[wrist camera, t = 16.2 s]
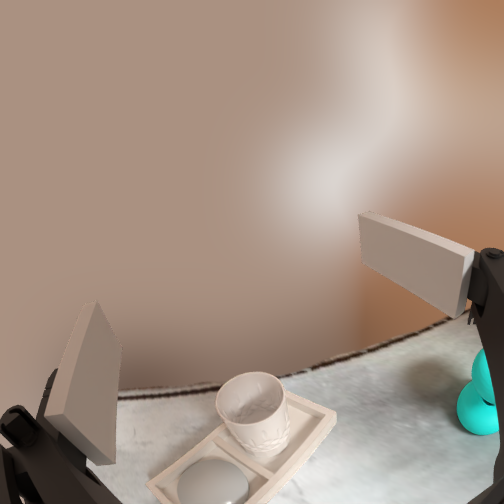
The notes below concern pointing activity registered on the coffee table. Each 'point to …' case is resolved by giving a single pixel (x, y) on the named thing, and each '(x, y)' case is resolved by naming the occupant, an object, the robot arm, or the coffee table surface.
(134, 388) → the coffee table surface
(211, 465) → the grey flat disc
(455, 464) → the coffee table surface
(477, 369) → the donuts
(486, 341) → the robot arm
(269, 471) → the tray
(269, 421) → the white cup
